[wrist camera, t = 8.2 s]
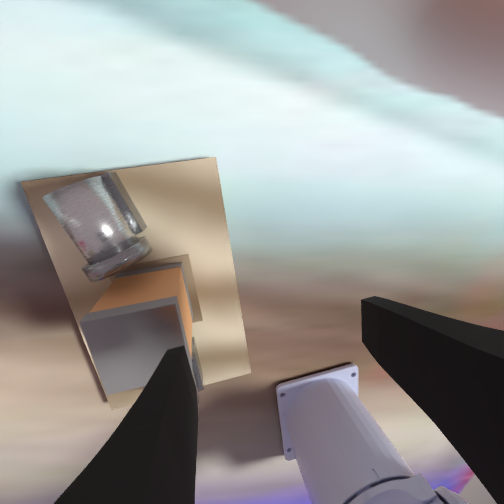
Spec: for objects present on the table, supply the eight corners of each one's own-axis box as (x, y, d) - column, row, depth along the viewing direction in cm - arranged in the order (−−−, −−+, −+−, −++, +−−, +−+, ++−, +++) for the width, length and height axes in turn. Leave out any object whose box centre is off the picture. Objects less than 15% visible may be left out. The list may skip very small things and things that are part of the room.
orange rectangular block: (193, 314, 19) (192, 374, 13) (134, 326, 18) (106, 395, 12) (182, 261, 17) (175, 303, 12) (118, 273, 17) (79, 322, 11)
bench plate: (249, 366, 22) (251, 373, 21) (114, 401, 20) (110, 411, 20) (214, 157, 17) (216, 156, 16) (29, 181, 15) (19, 181, 14)
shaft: (159, 238, 18) (146, 260, 13) (109, 260, 17) (79, 290, 13) (121, 171, 16) (92, 170, 12) (65, 195, 16) (14, 203, 11)
